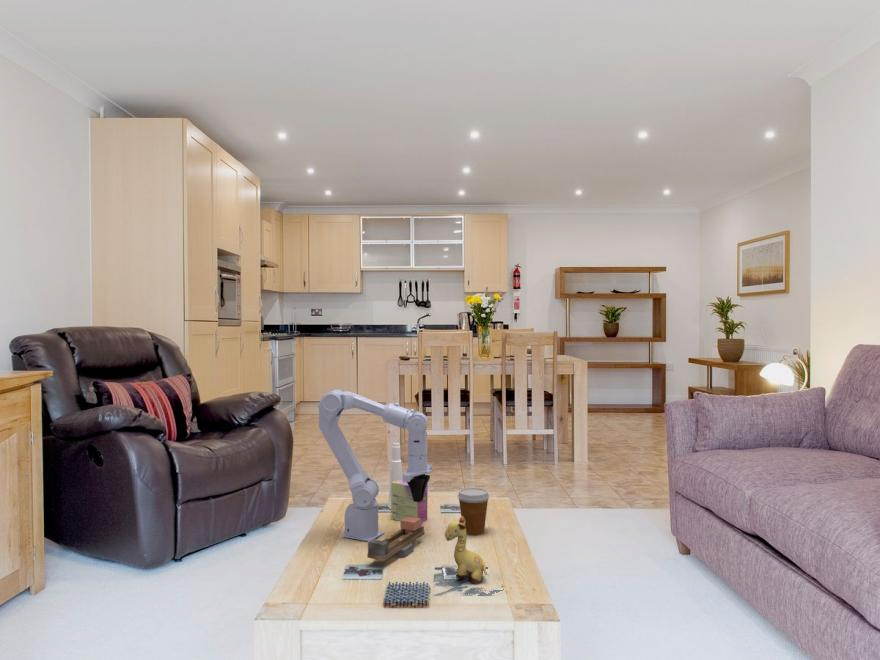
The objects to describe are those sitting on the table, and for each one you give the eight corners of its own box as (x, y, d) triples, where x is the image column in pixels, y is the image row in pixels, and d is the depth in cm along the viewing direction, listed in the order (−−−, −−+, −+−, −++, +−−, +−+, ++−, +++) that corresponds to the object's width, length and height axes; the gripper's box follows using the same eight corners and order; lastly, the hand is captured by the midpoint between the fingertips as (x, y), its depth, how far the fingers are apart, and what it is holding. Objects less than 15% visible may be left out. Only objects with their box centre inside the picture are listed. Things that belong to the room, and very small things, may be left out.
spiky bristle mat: (381, 610, 130) (381, 601, 130) (386, 589, 141) (386, 581, 141) (429, 610, 130) (429, 601, 130) (430, 589, 141) (430, 581, 141)
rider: (400, 533, 169) (400, 520, 169) (407, 529, 172) (407, 516, 172) (414, 535, 167) (414, 522, 167) (421, 531, 170) (421, 518, 170)
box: (428, 520, 191) (427, 482, 191) (417, 525, 186) (417, 486, 186) (401, 514, 197) (401, 478, 197) (390, 519, 192) (390, 482, 192)
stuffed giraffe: (434, 568, 152) (436, 506, 152) (505, 570, 152) (507, 508, 152) (432, 598, 136) (434, 529, 136) (512, 601, 136) (514, 532, 136)
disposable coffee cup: (453, 534, 177) (452, 494, 177) (464, 525, 186) (463, 486, 186) (483, 539, 173) (483, 497, 173) (493, 528, 182) (493, 489, 182)
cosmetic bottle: (408, 506, 206) (407, 442, 206) (401, 511, 200) (401, 445, 200) (391, 504, 208) (391, 441, 208) (384, 509, 202) (384, 444, 202)
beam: (364, 564, 154) (364, 541, 155) (406, 538, 174) (406, 517, 174) (387, 569, 151) (387, 545, 151) (427, 541, 171) (427, 520, 171)
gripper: (418, 460, 167) (418, 509, 167) (440, 450, 180) (441, 496, 180) (396, 458, 170) (396, 506, 170) (420, 449, 183) (420, 493, 183)
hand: (418, 501), depth 175 cm, fingers closed
